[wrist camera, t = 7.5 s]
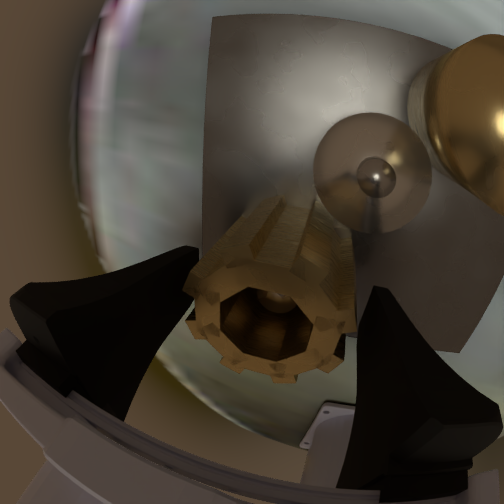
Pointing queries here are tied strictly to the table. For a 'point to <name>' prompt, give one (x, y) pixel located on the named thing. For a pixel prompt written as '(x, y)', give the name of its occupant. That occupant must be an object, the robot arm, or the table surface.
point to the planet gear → (278, 281)
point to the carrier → (366, 154)
